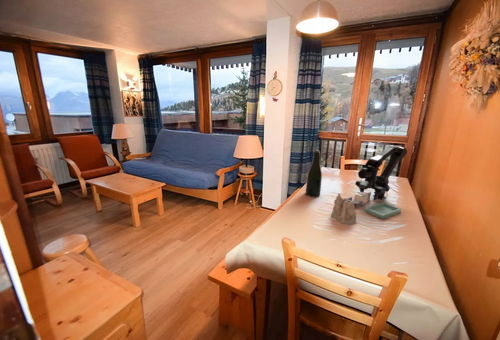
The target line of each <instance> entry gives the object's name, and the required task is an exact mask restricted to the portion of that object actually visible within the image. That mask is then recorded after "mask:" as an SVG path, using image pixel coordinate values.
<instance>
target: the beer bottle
mask: <svg viewBox="0 0 500 340" xmlns="http://www.w3.org/2000/svg"><path fill="white" fill-rule="evenodd" d="M320 157H321V152H320V150H318V149H316V150H314V152H313V158H312V161H311V165H310V166H309V169H308V171H307V176H306V184H305V194H306V195H307V196H309V197H312V198H313V197H315V198H316V197H320V195H321V191H322V182H323V181H322V180H323V179H322V177H323V171H322V169H321V163H320Z"/></svg>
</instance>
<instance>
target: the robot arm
mask: <svg viewBox="0 0 500 340" xmlns="http://www.w3.org/2000/svg"><path fill="white" fill-rule="evenodd" d="M407 154H408V149H407V148H406V147H400V146H396V145H388V147H387V148H385V149H384V150H383V151H381V153H378V155H376V156H372V157H369V158H368V160H367V161H366V163H365V164H364V165H363V167H362V168H361V169H360V170H359V171H358V172H357V175H358V178H359V179H360V180H356V181H355V183H354V185H356V187H358V189H359V192H363V193H364V192H365V190H368V189H372V190H374V191H373V193H374V195H372V197H373V198H372V200H373V201H376V199H379V200H384V199H387V196H385V195H386V192H389V191H390V189H391V188H390V186H389V183H390V182H389V181H390V180H389V179H390V176H391V175H392V173H393V171H394V169H395V168H396V166H397V164H398V163H399V161H401V160H402V159H404V158H405V157H406V156H407ZM390 156H391V158H390V159H389V161H388V162H387V164H386V166H385V167H384V168H383V171H382V172H381V174H380V175H378V172H379V171H380V170H381V169H380V167H381V166H382V165H383V162H384V161H385V160H386V159H388V158H389V157H390ZM361 179H364V180H361Z"/></svg>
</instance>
